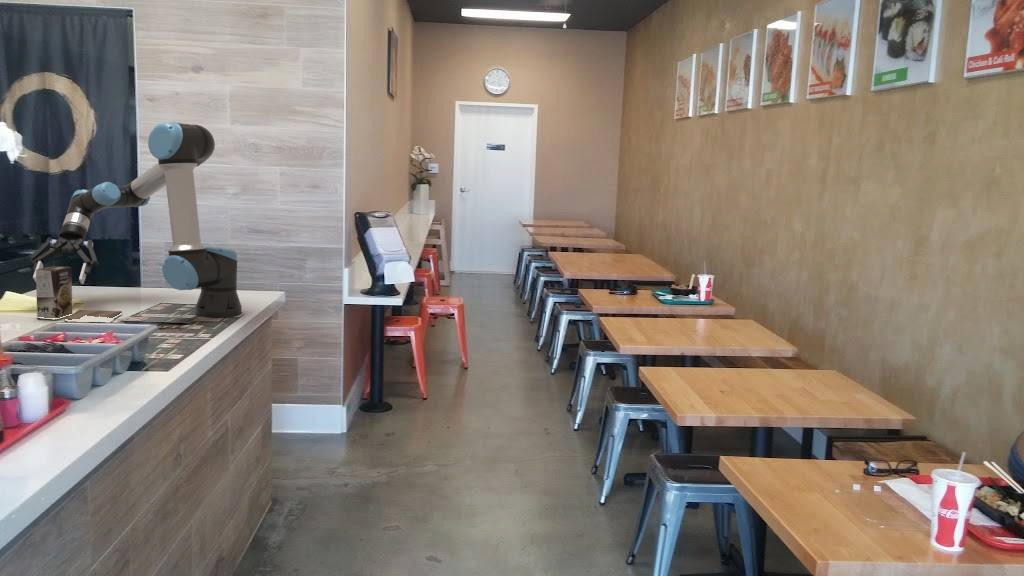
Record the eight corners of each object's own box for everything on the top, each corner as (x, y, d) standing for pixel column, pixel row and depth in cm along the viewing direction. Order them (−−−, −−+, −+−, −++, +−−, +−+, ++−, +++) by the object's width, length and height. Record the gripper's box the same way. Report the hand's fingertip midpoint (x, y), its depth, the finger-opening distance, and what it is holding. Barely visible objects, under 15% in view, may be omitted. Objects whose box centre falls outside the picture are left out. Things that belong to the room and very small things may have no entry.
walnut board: (121, 314, 253) (121, 311, 253) (109, 323, 240) (109, 319, 240) (79, 313, 250) (79, 309, 250) (64, 322, 238) (64, 318, 238)
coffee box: (56, 321, 239) (55, 270, 236) (36, 319, 239) (34, 269, 236) (73, 315, 248) (72, 266, 245) (54, 313, 248) (52, 265, 245)
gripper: (116, 238, 263) (102, 288, 251) (38, 234, 258) (20, 285, 247) (111, 224, 257) (97, 275, 245) (30, 220, 252) (12, 272, 241)
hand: (58, 280), depth 246 cm, fingers open, 13 cm apart
